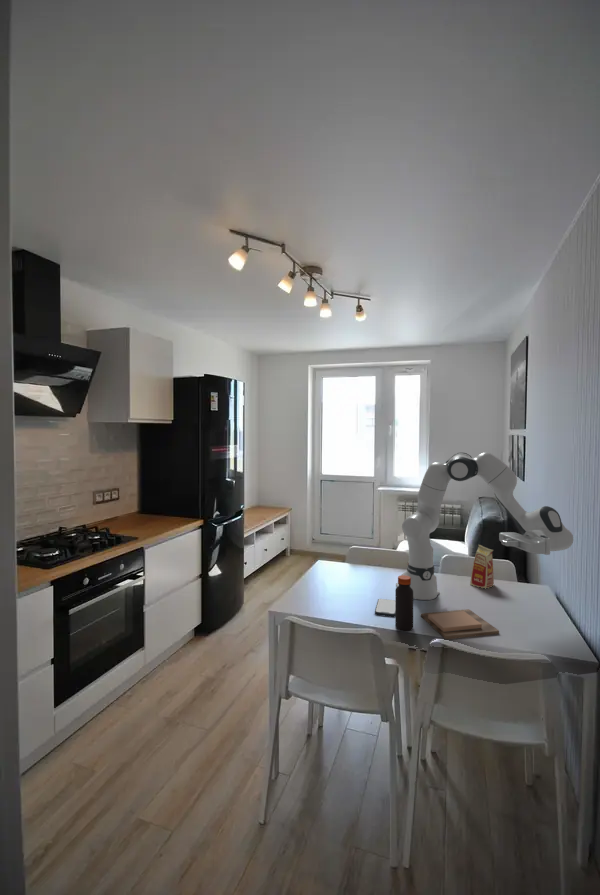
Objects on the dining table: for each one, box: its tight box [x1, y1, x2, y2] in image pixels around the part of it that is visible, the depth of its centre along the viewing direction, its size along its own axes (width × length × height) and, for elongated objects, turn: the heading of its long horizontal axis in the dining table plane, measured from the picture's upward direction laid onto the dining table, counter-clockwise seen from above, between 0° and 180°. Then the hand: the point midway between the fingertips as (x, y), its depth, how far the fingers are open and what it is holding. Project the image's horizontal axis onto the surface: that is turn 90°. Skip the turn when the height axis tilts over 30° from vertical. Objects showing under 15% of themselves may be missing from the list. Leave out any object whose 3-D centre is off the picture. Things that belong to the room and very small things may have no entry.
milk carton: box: [469, 544, 495, 590], centre depth 212 cm, size 9×9×20 cm
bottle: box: [394, 574, 414, 632], centre depth 167 cm, size 7×7×20 cm
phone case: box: [374, 598, 395, 618], centre depth 186 cm, size 9×2×16 cm
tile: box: [428, 611, 482, 632], centre depth 168 cm, size 12×2×16 cm
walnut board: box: [420, 608, 500, 640], centre depth 170 cm, size 20×22×1 cm
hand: (503, 543), depth 171 cm, fingers closed
